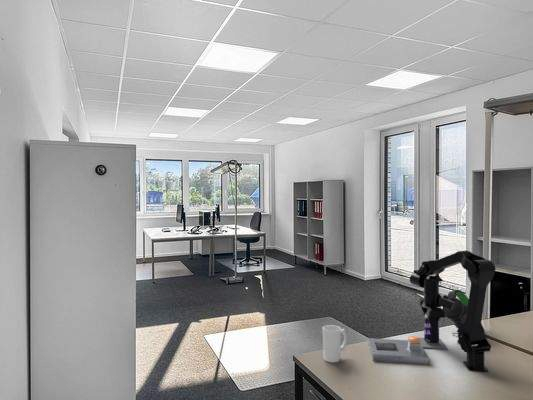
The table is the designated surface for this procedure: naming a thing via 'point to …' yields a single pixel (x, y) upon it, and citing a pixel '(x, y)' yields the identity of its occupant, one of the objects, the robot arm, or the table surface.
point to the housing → (397, 351)
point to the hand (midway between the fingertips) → (431, 327)
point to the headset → (457, 308)
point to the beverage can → (430, 332)
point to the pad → (437, 346)
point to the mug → (333, 343)
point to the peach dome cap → (414, 340)
